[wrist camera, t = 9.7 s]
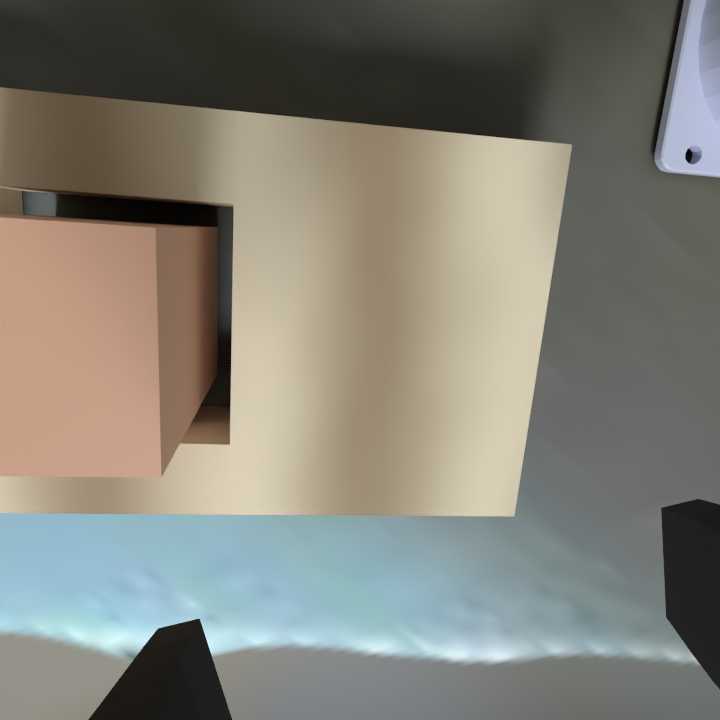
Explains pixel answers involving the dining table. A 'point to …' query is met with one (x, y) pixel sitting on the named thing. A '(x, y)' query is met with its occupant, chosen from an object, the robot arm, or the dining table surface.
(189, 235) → the square peg
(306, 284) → the rail
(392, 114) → the dining table surface
